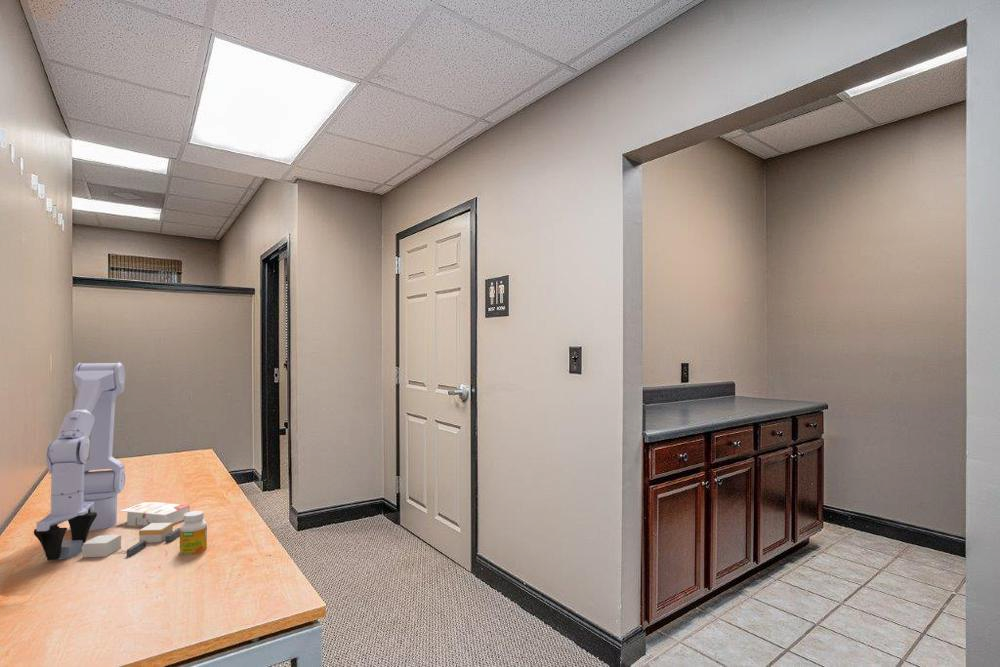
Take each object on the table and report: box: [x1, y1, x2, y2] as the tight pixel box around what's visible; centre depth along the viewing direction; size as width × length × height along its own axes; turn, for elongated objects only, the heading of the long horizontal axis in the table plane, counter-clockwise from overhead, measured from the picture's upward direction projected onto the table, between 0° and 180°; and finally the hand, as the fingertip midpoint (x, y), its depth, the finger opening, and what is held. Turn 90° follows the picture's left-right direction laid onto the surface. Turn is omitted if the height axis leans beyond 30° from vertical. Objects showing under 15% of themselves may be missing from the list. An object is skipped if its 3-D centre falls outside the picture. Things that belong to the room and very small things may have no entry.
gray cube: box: [58, 539, 83, 560], centre depth 118 cm, size 4×4×4 cm
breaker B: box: [82, 534, 122, 558], centre depth 119 cm, size 5×5×3 cm
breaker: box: [138, 523, 174, 544], centre depth 128 cm, size 5×5×3 cm
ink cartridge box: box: [118, 501, 191, 528], centre depth 141 cm, size 9×5×15 cm
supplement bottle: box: [179, 510, 208, 556], centre depth 121 cm, size 5×5×10 cm
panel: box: [117, 527, 180, 558], centre depth 124 cm, size 16×16×3 cm
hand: (66, 552), depth 118 cm, fingers open, 7 cm apart
